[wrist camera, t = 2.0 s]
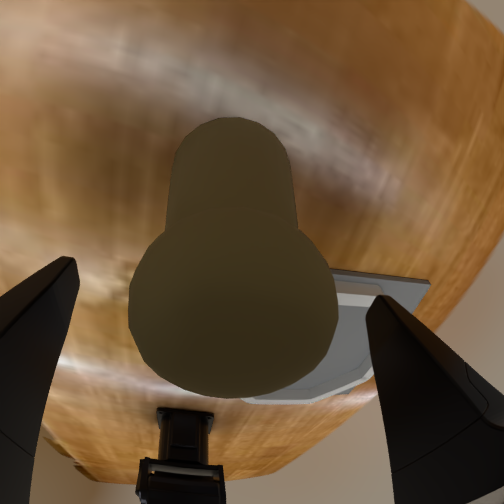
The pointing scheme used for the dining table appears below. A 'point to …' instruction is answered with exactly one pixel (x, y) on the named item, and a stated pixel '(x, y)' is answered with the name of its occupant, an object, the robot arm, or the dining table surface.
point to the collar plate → (348, 337)
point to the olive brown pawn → (232, 271)
